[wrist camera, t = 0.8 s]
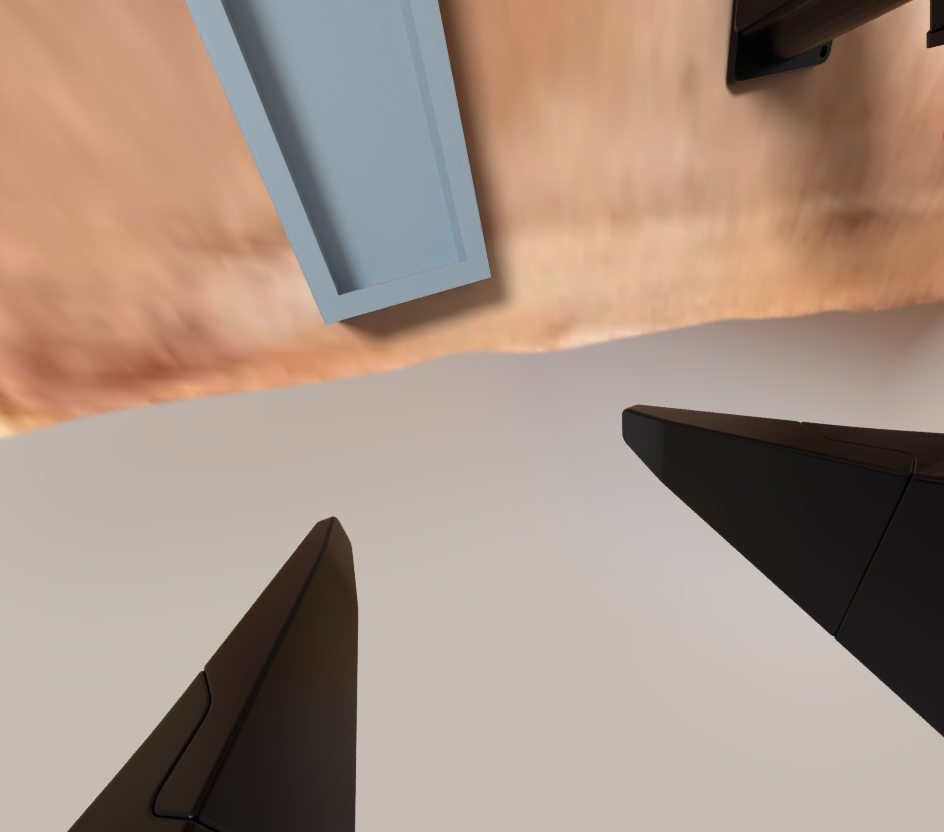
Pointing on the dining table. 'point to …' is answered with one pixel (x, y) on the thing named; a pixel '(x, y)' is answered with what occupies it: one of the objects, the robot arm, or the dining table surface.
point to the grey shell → (353, 142)
